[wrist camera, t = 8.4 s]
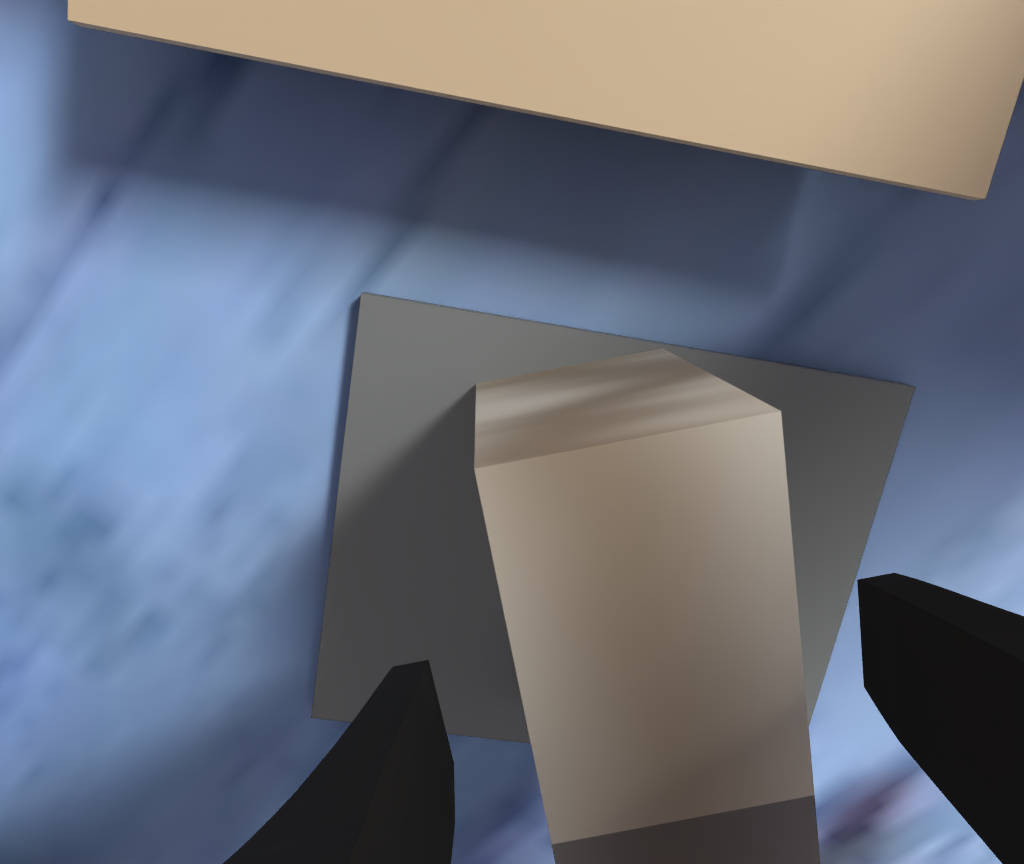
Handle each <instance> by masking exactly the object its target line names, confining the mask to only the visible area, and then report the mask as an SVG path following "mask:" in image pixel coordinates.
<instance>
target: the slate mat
mask: <svg viewBox="0 0 1024 864" xmlns="http://www.w3.org/2000/svg"><path fill="white" fill-rule="evenodd" d="M662 348H663V349H665V350H667V351H669V352H671V353H673V354H674V355H676V356H678V357H680V358H682V359H684V360H686V361H688V362H690V363H691V364H693V365H695V366H697V367H699V368H701V369H703V370H705V371H706V372H708V373H710V374H712V375H714V376H716V377H718V378H720V379H722V380H723V381H725V382H727V383H729V384H731V385H733V386H735V387H737V388H739V389H740V390H742V391H744V392H746V393H748V394H750V395H752V396H754V397H755V398H757V399H759V400H761V401H763V402H765V403H767V404H769V405H771V406H772V407H774V408H776V409H778V410H780V411H781V416H782V428H783V439H784V451H785V462H786V474H787V485H788V497H789V508H790V520H791V532H792V543H793V555H794V566H795V578H796V589H797V601H798V612H799V624H800V635H801V647H802V659H803V670H804V682H805V693H806V705H807V716H808V727H809V724H810V721H811V717H812V714H813V711H814V708H815V705H816V702H817V698H818V695H819V692H820V689H821V686H822V682H823V679H824V676H825V673H826V670H827V667H828V663H829V660H830V657H831V654H832V651H833V647H834V644H835V641H836V638H837V635H838V632H839V628H840V625H841V622H842V619H843V616H844V613H845V609H846V606H847V603H848V600H849V597H850V593H851V590H852V587H853V584H854V581H855V578H856V574H857V571H858V568H859V565H860V562H861V559H862V555H863V552H864V549H865V546H866V543H867V539H868V536H869V533H870V530H871V527H872V524H873V520H874V517H875V514H876V511H877V508H878V505H879V501H880V498H881V495H882V492H883V489H884V485H885V482H886V479H887V476H888V473H889V470H890V466H891V463H892V460H893V457H894V454H895V450H896V447H897V444H898V441H899V438H900V435H901V431H902V428H903V425H904V422H905V419H906V416H907V412H908V409H909V406H910V403H911V400H912V396H913V393H914V390H915V387H913V386H910V385H907V384H903V383H897V382H891V381H885V380H879V379H873V378H867V377H862V376H856V375H850V374H844V373H838V372H832V371H826V370H820V369H814V368H808V367H803V366H797V365H791V364H785V363H779V362H773V361H767V360H761V359H755V358H749V357H743V356H738V355H732V354H726V353H720V352H714V351H708V350H702V349H696V348H690V347H684V346H679V345H673V344H667V343H661V342H655V341H649V340H643V339H637V338H631V337H625V336H620V335H614V334H608V333H602V332H596V331H590V330H584V329H578V328H572V327H566V326H561V325H555V324H549V323H543V322H537V321H531V320H525V319H519V318H513V317H507V316H501V315H496V314H490V313H484V312H478V311H472V310H466V309H460V308H454V307H448V306H442V305H437V304H431V303H425V302H419V301H413V300H407V299H401V298H395V297H389V296H383V295H378V294H372V293H366V292H364V293H361V299H360V308H359V316H358V325H357V333H356V342H355V350H354V359H353V367H352V376H351V384H350V393H349V401H348V410H347V418H346V427H345V435H344V444H343V452H342V461H341V469H340V478H339V486H338V495H337V503H336V512H335V520H334V529H333V537H332V546H331V554H330V563H329V571H328V580H327V588H326V597H325V605H324V614H323V622H322V631H321V639H320V648H319V656H318V665H317V673H316V682H315V690H314V699H313V707H312V716H311V718H318V719H326V720H335V721H343V722H353V720H354V719H355V717H356V716H357V715H358V713H359V712H360V711H361V709H362V708H363V706H364V705H365V704H366V702H367V701H368V699H369V698H370V697H371V695H372V694H373V692H374V691H375V690H376V688H377V687H378V686H379V684H380V683H381V681H382V680H383V679H384V677H385V676H386V675H387V673H388V672H389V671H390V669H391V668H392V667H393V666H398V665H403V664H409V663H414V662H419V661H425V660H429V663H430V667H431V672H432V676H433V680H434V684H435V688H436V692H437V696H438V700H439V704H440V709H441V713H442V717H443V721H444V725H445V729H446V733H447V734H454V735H463V736H471V737H480V738H489V739H497V740H506V741H514V742H523V743H531V742H530V737H529V732H528V727H527V722H526V718H525V713H524V708H523V703H522V698H521V693H520V688H519V684H518V679H517V674H516V669H515V664H514V659H513V655H512V650H511V645H510V640H509V635H508V630H507V625H506V621H505V616H504V611H503V606H502V601H501V596H500V592H499V587H498V582H497V577H496V572H495V567H494V562H493V558H492V553H491V548H490V543H489V538H488V533H487V529H486V524H485V519H484V514H483V509H482V504H481V499H480V495H479V490H478V485H477V480H476V475H475V470H474V456H475V411H476V383H482V382H487V381H492V380H498V379H503V378H508V377H513V376H519V375H524V374H529V373H535V372H540V371H545V370H551V369H556V368H561V367H566V366H572V365H577V364H582V363H588V362H593V361H598V360H603V359H609V358H614V357H619V356H625V355H630V354H635V353H641V352H646V351H651V350H656V349H662Z"/></svg>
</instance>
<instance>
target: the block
mask: <svg viewBox="0 0 1024 864" xmlns="http://www.w3.org/2000/svg"><path fill="white" fill-rule="evenodd" d="M474 470H475V475H476V480H477V485H478V490H479V495H480V499H481V504H482V509H483V514H484V519H485V524H486V529H487V533H488V538H489V543H490V548H491V553H492V558H493V562H494V567H495V572H496V577H497V582H498V587H499V592H500V596H501V601H502V606H503V611H504V616H505V621H506V625H507V630H508V635H509V640H510V645H511V650H512V655H513V659H514V664H515V669H516V674H517V679H518V684H519V688H520V693H521V698H522V703H523V708H524V713H525V718H526V722H527V727H528V732H529V737H530V742H531V747H532V751H533V756H534V761H535V766H536V771H537V776H538V781H539V785H540V790H541V795H542V800H543V805H544V810H545V815H546V819H547V824H548V829H549V834H550V839H551V844H552V848H553V853H554V858H555V863H556V864H820V855H819V843H818V832H817V820H816V809H815V797H814V785H813V774H812V762H811V751H810V739H809V728H808V716H807V705H806V693H805V682H804V670H803V659H802V647H801V635H800V624H799V612H798V601H797V589H796V578H795V566H794V555H793V543H792V532H791V520H790V508H789V497H788V485H787V474H786V462H785V451H784V439H783V428H782V416H781V411H780V410H778V409H776V408H774V407H772V406H771V405H769V404H767V403H765V402H763V401H761V400H759V399H757V398H755V397H754V396H752V395H750V394H748V393H746V392H744V391H742V390H740V389H739V388H737V387H735V386H733V385H731V384H729V383H727V382H725V381H723V380H722V379H720V378H718V377H716V376H714V375H712V374H710V373H708V372H706V371H705V370H703V369H701V368H699V367H697V366H695V365H693V364H691V363H690V362H688V361H686V360H684V359H682V358H680V357H678V356H676V355H674V354H673V353H671V352H669V351H667V350H665V349H663V348H662V349H656V350H651V351H646V352H641V353H635V354H630V355H625V356H619V357H614V358H609V359H603V360H598V361H593V362H588V363H582V364H577V365H572V366H566V367H561V368H556V369H551V370H545V371H540V372H535V373H529V374H524V375H519V376H513V377H508V378H503V379H498V380H492V381H487V382H482V383H476V411H475V456H474Z"/></svg>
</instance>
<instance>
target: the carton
mask: <svg viewBox="0 0 1024 864" xmlns="http://www.w3.org/2000/svg"><path fill="white" fill-rule="evenodd" d="M68 20H69V21H71V22H72V23H74V24H76V25H78V26H80V27H85V28H91V29H96V30H101V31H106V32H111V33H116V34H121V35H126V36H132V37H137V38H142V39H147V40H152V41H157V42H162V43H168V44H173V45H178V46H183V47H188V48H193V49H198V50H203V51H209V52H214V53H219V54H224V55H229V56H234V57H239V58H244V59H250V60H255V61H260V62H265V63H270V64H275V65H280V66H286V67H291V68H296V69H301V70H306V71H311V72H316V73H321V74H327V75H332V76H337V77H342V78H347V79H352V80H357V81H362V82H368V83H373V84H378V85H383V86H388V87H393V88H398V89H404V90H409V91H414V92H419V93H424V94H429V95H434V96H439V97H445V98H450V99H455V100H460V101H465V102H470V103H475V104H481V105H486V106H491V107H496V108H501V109H506V110H511V111H516V112H522V113H527V114H532V115H537V116H542V117H547V118H552V119H557V120H563V121H568V122H573V123H578V124H583V125H588V126H593V127H599V128H604V129H609V130H614V131H619V132H624V133H629V134H634V135H640V136H645V137H650V138H655V139H660V140H665V141H670V142H675V143H681V144H686V145H691V146H696V147H701V148H706V149H711V150H717V151H722V152H727V153H732V154H737V155H742V156H747V157H752V158H758V159H763V160H768V161H773V162H778V163H783V164H788V165H794V166H799V167H804V168H809V169H814V170H819V171H824V172H829V173H835V174H840V175H845V176H850V177H855V178H860V179H865V180H870V181H876V182H881V183H886V184H891V185H896V186H901V187H906V188H912V189H917V190H922V191H927V192H932V193H937V194H942V195H947V196H953V197H958V198H963V199H968V200H981V199H985V198H986V195H987V192H988V189H989V186H990V182H991V179H992V176H993V173H994V170H995V167H996V164H997V160H998V157H999V154H1000V151H1001V148H1002V145H1003V142H1004V138H1005V135H1006V132H1007V129H1008V126H1009V123H1010V120H1011V116H1012V113H1013V110H1014V107H1015V104H1016V101H1017V98H1018V94H1019V91H1020V88H1021V85H1022V82H1023V79H1024V0H68Z"/></svg>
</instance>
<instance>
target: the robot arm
mask: <svg viewBox="0 0 1024 864" xmlns="http://www.w3.org/2000/svg"><path fill="white" fill-rule="evenodd" d="M857 581H858V597H859V613H860V629H861V645H862V662H863V678H864V687H865V689H866V691H867V692H868V694H869V695H870V697H871V699H872V700H873V702H874V703H875V705H876V707H877V708H878V710H879V711H880V713H881V715H882V716H883V718H884V719H885V721H886V722H887V724H888V725H889V727H890V728H891V730H892V731H893V733H894V734H895V736H896V737H897V739H898V740H899V742H900V743H901V744H902V745H903V746H904V748H905V749H906V750H907V751H908V753H909V754H910V755H911V756H912V757H913V759H914V760H915V761H916V762H917V763H918V765H919V766H920V767H921V768H922V769H923V771H924V772H925V773H926V774H927V775H928V777H929V778H930V779H931V780H932V781H933V783H934V784H935V785H936V786H937V787H938V788H939V790H940V791H941V792H942V793H943V794H944V795H945V797H946V798H947V799H948V800H949V801H950V803H951V804H952V805H953V806H954V807H955V808H956V810H957V811H958V812H959V813H960V814H961V815H962V817H963V818H964V819H965V820H966V821H967V822H968V824H969V825H970V826H971V827H972V828H973V830H974V831H975V832H976V833H977V834H978V835H979V837H980V838H981V839H982V840H983V841H984V842H985V844H986V845H987V846H988V847H989V848H990V850H991V851H992V852H993V853H994V854H995V855H996V857H997V858H998V859H999V860H1000V861H1001V862H1002V864H1024V616H1021V615H1018V614H1015V613H1012V612H1009V611H1006V610H1004V609H1001V608H998V607H995V606H992V605H989V604H987V603H984V602H981V601H978V600H975V599H973V598H970V597H967V596H964V595H961V594H958V593H956V592H953V591H950V590H947V589H944V588H942V587H939V586H936V585H933V584H930V583H927V582H924V581H921V580H918V579H914V578H911V577H908V576H904V575H900V574H896V573H891V574H886V575H881V576H875V577H870V578H864V579H859V580H857ZM454 825H455V795H454V762H453V758H452V754H451V750H450V745H449V741H448V737H447V733H446V729H445V725H444V721H443V717H442V713H441V709H440V704H439V700H438V696H437V692H436V688H435V684H434V680H433V676H432V672H431V667H430V663H429V660H425V661H419V662H414V663H409V664H403V665H398V666H393V667H392V668H391V669H390V671H389V672H388V673H387V675H386V676H385V677H384V679H383V680H382V681H381V683H380V684H379V686H378V687H377V688H376V690H375V691H374V692H373V694H372V695H371V697H370V698H369V699H368V701H367V702H366V704H365V705H364V706H363V708H362V709H361V711H360V712H359V713H358V715H357V716H356V717H355V719H354V720H353V722H352V723H351V724H350V726H349V727H348V728H347V729H346V731H345V732H344V733H343V735H342V736H341V737H340V739H339V740H338V741H337V743H336V744H335V745H334V747H333V748H332V749H331V750H330V752H329V753H328V754H327V755H326V756H325V758H324V759H323V760H322V761H321V762H320V764H319V765H318V766H317V767H316V768H315V769H314V771H313V772H312V773H311V774H310V775H309V777H308V778H307V779H306V780H305V781H304V783H303V784H302V785H301V786H300V787H299V789H298V790H297V791H296V792H295V793H294V794H293V795H292V796H291V798H290V799H289V800H288V801H287V802H286V803H285V804H284V805H283V806H282V807H281V808H280V809H279V810H278V811H277V812H276V814H275V815H274V816H273V817H272V818H271V819H270V820H269V821H268V822H267V823H266V824H265V825H264V826H263V827H262V828H261V829H260V830H259V831H258V832H257V833H256V834H255V835H254V836H253V837H252V838H250V839H249V840H248V841H247V842H246V843H245V844H244V845H243V846H242V847H241V848H240V849H239V850H238V851H237V852H236V853H235V854H233V855H232V856H231V857H230V858H229V859H228V860H226V861H225V862H224V863H223V864H451V857H452V847H453V836H454Z"/></svg>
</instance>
